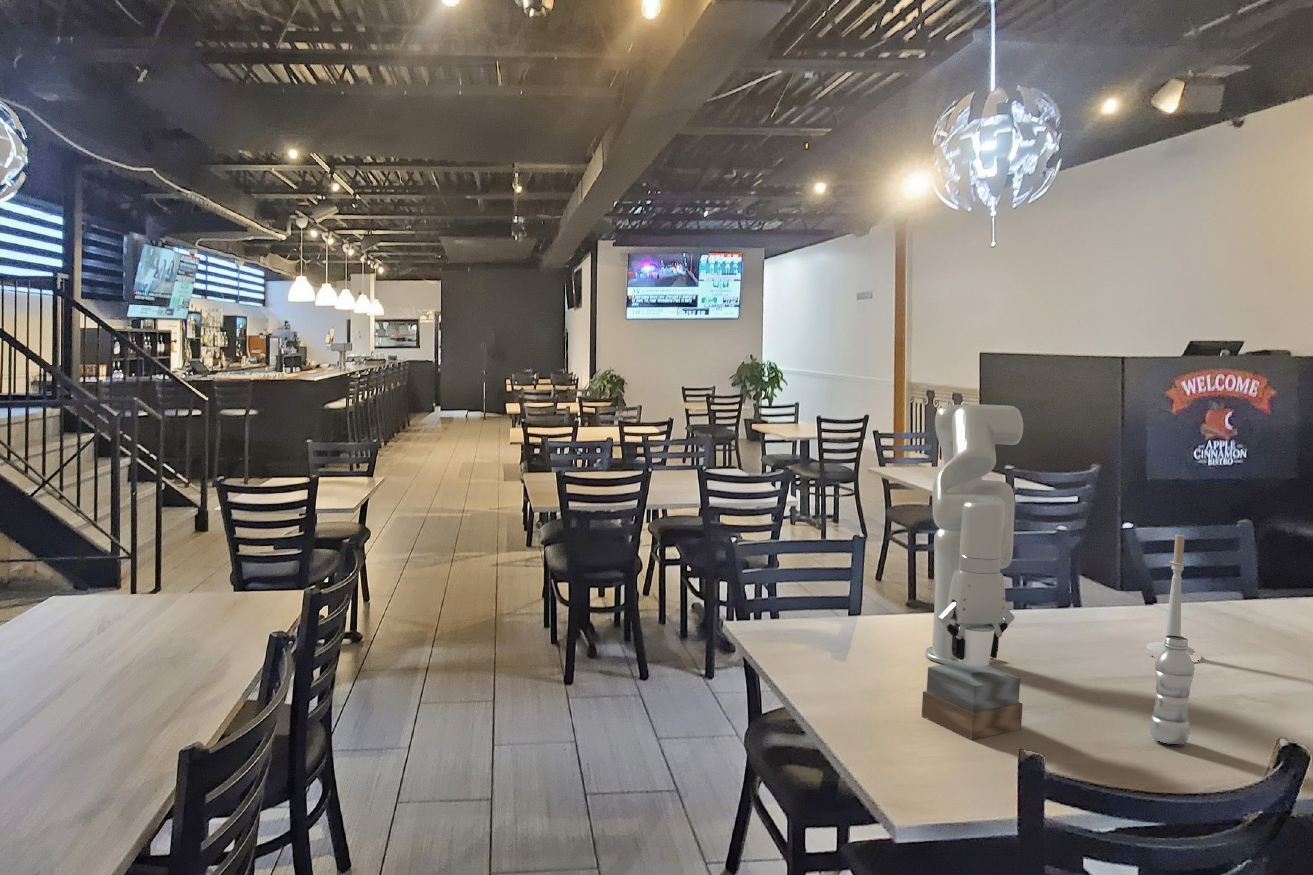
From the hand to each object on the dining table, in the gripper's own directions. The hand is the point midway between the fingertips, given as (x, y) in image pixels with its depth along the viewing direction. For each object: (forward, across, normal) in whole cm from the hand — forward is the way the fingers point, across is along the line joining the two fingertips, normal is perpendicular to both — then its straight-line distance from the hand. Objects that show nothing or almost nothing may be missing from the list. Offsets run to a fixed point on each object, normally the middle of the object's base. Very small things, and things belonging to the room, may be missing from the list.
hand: (974, 655), depth 188 cm
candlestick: (+13, -74, -33) cm, 82 cm away
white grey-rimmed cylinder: (+1, 0, 0) cm, 1 cm away
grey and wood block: (+13, 0, 0) cm, 13 cm away
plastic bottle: (+13, -32, +15) cm, 38 cm away
